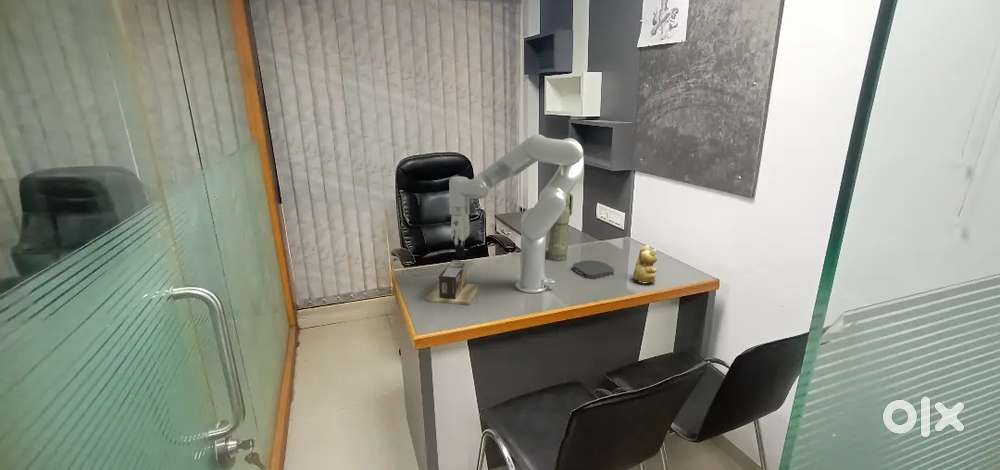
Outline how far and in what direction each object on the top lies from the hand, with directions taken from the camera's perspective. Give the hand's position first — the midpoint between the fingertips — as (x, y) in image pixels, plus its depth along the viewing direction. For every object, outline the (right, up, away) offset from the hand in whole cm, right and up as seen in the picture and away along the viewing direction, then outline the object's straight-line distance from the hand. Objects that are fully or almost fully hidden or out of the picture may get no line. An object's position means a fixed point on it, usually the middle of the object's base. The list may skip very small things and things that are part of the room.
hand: (459, 255), depth 178 cm
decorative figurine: (+74, -11, +9) cm, 75 cm away
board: (-2, -14, -5) cm, 15 cm away
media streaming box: (+56, -8, +19) cm, 59 cm away
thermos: (+42, -3, +34) cm, 55 cm away
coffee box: (0, -6, +2) cm, 7 cm away
